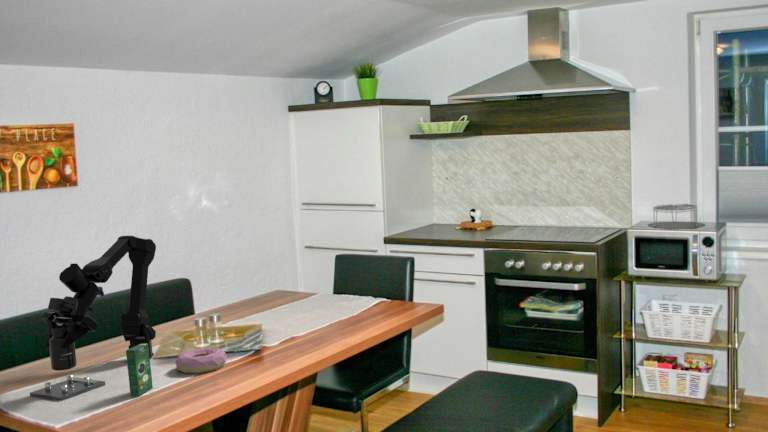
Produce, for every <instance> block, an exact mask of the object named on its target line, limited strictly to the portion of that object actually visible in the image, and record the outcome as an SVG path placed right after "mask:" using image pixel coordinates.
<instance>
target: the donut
mask: <svg viewBox="0 0 768 432" xmlns="http://www.w3.org/2000/svg"><path fill="white" fill-rule="evenodd" d="M175 359H176V360H175V365H176V366H175V367H176V369H177V370H178V371H180V372H182V373H185V374H203V373H209V372H212V371H215V370H218V369H221V368H222V367H224V365H225V364H226V362H227V359H228V357H227V354H226V352H225V351H224V350H223V349H222V348H219V347H218V348H217V347H201V348H194V349H190V350H187V351H184V352H182V353H181V354H179V355H178V356H177V357H176V358H175Z"/></svg>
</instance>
